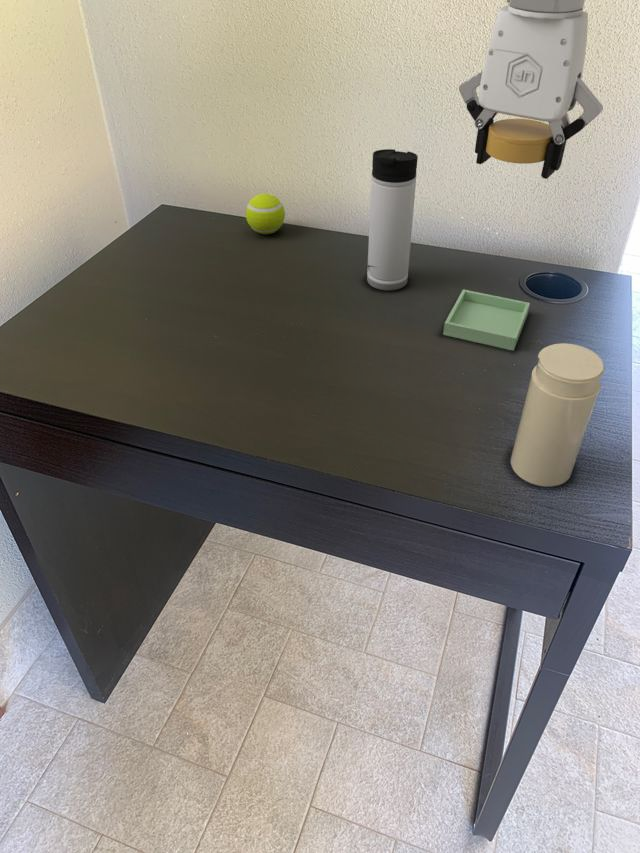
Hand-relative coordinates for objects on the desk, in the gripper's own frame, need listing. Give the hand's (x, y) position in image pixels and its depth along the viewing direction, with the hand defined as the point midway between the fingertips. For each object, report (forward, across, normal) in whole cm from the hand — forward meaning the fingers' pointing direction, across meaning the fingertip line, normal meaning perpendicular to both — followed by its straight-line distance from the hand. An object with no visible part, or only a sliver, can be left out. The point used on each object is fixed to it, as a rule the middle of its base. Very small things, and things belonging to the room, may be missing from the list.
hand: (515, 166), depth 82 cm
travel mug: (+23, -18, +3) cm, 29 cm away
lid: (-4, 0, 0) cm, 4 cm away
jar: (+22, +16, -23) cm, 36 cm away
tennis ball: (+23, -44, +7) cm, 50 cm away
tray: (+22, 0, 0) cm, 22 cm away
